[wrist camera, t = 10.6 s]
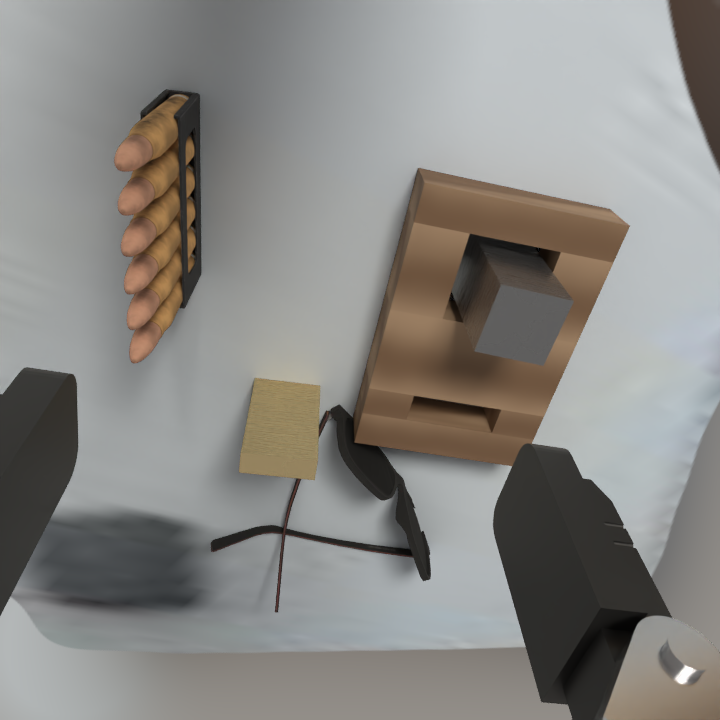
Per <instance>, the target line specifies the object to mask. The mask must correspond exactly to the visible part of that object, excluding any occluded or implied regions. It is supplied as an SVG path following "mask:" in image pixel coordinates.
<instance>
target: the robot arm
mask: <svg viewBox="0 0 720 720" xmlns="http://www.w3.org/2000/svg"><path fill="white" fill-rule="evenodd" d="M77 452H78V417H77V383H76V379H75V376H74V375H73V374H68V373H61V372H54V371H48V370H41V369H34V368H27V367H26V368H24V369H23V370H21V372H20V373H19V374H18V375H17V377H16V378H15V379H14V380H13V382H12V383H11V384H10V386H9V387H8V388H7V389H6V391H5V392H4V393H3V395H2V394H0V615H1V613H2V611H3V609H4V607H5V606H6V604H7V602H8V600H9V598H10V596H11V594H12V592H13V590H14V588H15V586H16V584H17V582H18V580H19V578H20V576H21V574H22V573H23V571H24V569H25V567H26V565H27V563H28V561H29V559H30V557H31V555H32V553H33V551H34V549H35V547H36V545H37V543H38V541H39V540H40V538H41V536H42V534H43V532H44V530H45V528H46V526H47V524H48V522H49V520H50V518H51V516H52V514H53V512H54V510H55V508H56V506H57V505H58V503H59V501H60V499H61V497H62V495H63V493H64V491H65V489H66V487H67V485H68V483H69V481H70V479H71V476H72V474H73V471H74V467H75V463H76V459H77ZM623 525H624V524H623V522H622V520H621V518H620V516H619V514H618V513H617V511H616V509H615V507H614V505H613V503H612V501H611V500H610V499H609V498H608V497H607V496H606V495H605V494H604V493H603V492H602V491H601V490H600V489H599V488H598V487H597V486H596V485H595V484H594V482H593V481H592V480H589V479H583V478H582V476H581V474H580V472H579V470H578V468H577V466H576V464H575V462H574V460H573V457H572V455H571V454H570V452H569V451H568V450H567V449H563V448H557V447H550V446H543V445H537V444H530V443H526V444H524V445H523V446H522V447H521V449H520V450H519V452H518V455H517V457H516V459H515V461H514V464H513V466H512V468H511V471H510V473H509V475H508V477H507V480H506V482H505V484H504V487H503V489H502V491H501V493H500V496H499V498H498V500H497V503H496V506H495V511H494V519H493V528H494V535H495V539H496V543H497V546H498V550H499V553H500V557H501V560H502V564H503V568H504V571H505V575H506V578H507V582H508V585H509V589H510V592H511V596H512V599H513V603H514V607H515V610H516V614H517V617H518V621H519V624H520V628H521V631H522V635H523V638H524V642H525V646H526V649H527V653H528V656H529V659H530V663H531V667H532V670H533V673H534V677H535V681H536V684H537V688H538V692H539V695H540V699H541V701H542V702H547V703H557V704H568V706H569V709H570V712H571V715H572V720H720V652H719V650H718V649H717V648H716V647H715V646H714V645H713V644H712V643H711V642H710V641H709V640H708V639H707V638H706V637H705V636H703V635H702V634H701V633H700V632H698V631H697V630H695V629H694V628H692V627H691V626H689V625H687V624H685V623H683V622H681V621H679V620H676V619H673V618H672V616H671V615H670V613H669V611H668V609H667V607H666V605H665V603H664V601H663V599H662V597H661V595H660V593H659V591H658V590H657V588H656V586H655V584H654V582H653V580H652V578H651V576H650V574H649V572H648V570H647V568H646V566H645V564H644V563H643V561H642V559H641V557H640V555H639V553H638V551H637V549H636V548H633V541H632V539H631V538H630V536H629V534H628V532H627V530H626V529H623Z"/></svg>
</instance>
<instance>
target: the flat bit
mask: <svg viewBox="0 0 720 720" xmlns="http://www.w3.org/2000/svg"><path fill="white" fill-rule="evenodd" d="M319 406H320V386H318V385H309V384H301V383H292V382H284V381H275V380H267V379H259V378H255V381H254V387H253V392H252V397H251V402H250V407H249V413H248V418H247V423H246V428H245V433H244V439H243V444H242V449H241V455H240V466H239V473H249V474H259V475H269V476H279V477H289V478H299V479H309V480H315V474H316V469H317V463H318V438H319Z"/></svg>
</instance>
